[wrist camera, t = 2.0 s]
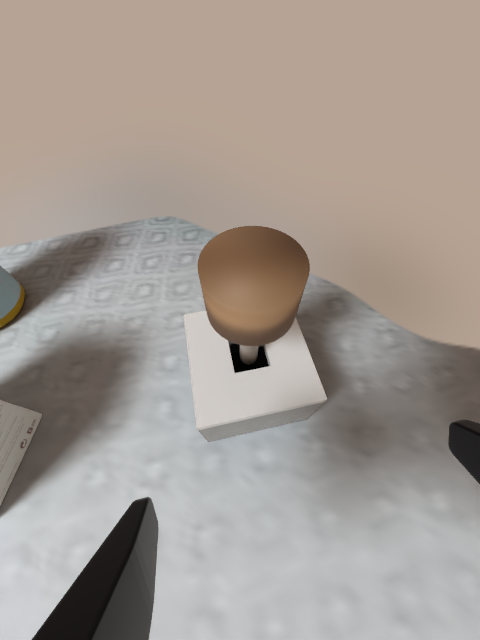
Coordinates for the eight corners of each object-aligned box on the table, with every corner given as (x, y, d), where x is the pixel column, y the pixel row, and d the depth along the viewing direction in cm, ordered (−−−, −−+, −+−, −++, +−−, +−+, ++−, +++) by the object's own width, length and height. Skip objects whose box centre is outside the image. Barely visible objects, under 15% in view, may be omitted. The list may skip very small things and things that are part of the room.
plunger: (288, 379, 17) (326, 296, 9) (222, 394, 17) (205, 318, 9) (270, 323, 19) (289, 219, 12) (212, 334, 19) (191, 234, 11)
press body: (306, 419, 21) (327, 399, 16) (208, 442, 20) (196, 428, 15) (278, 334, 25) (287, 296, 20) (195, 349, 24) (183, 314, 19)
